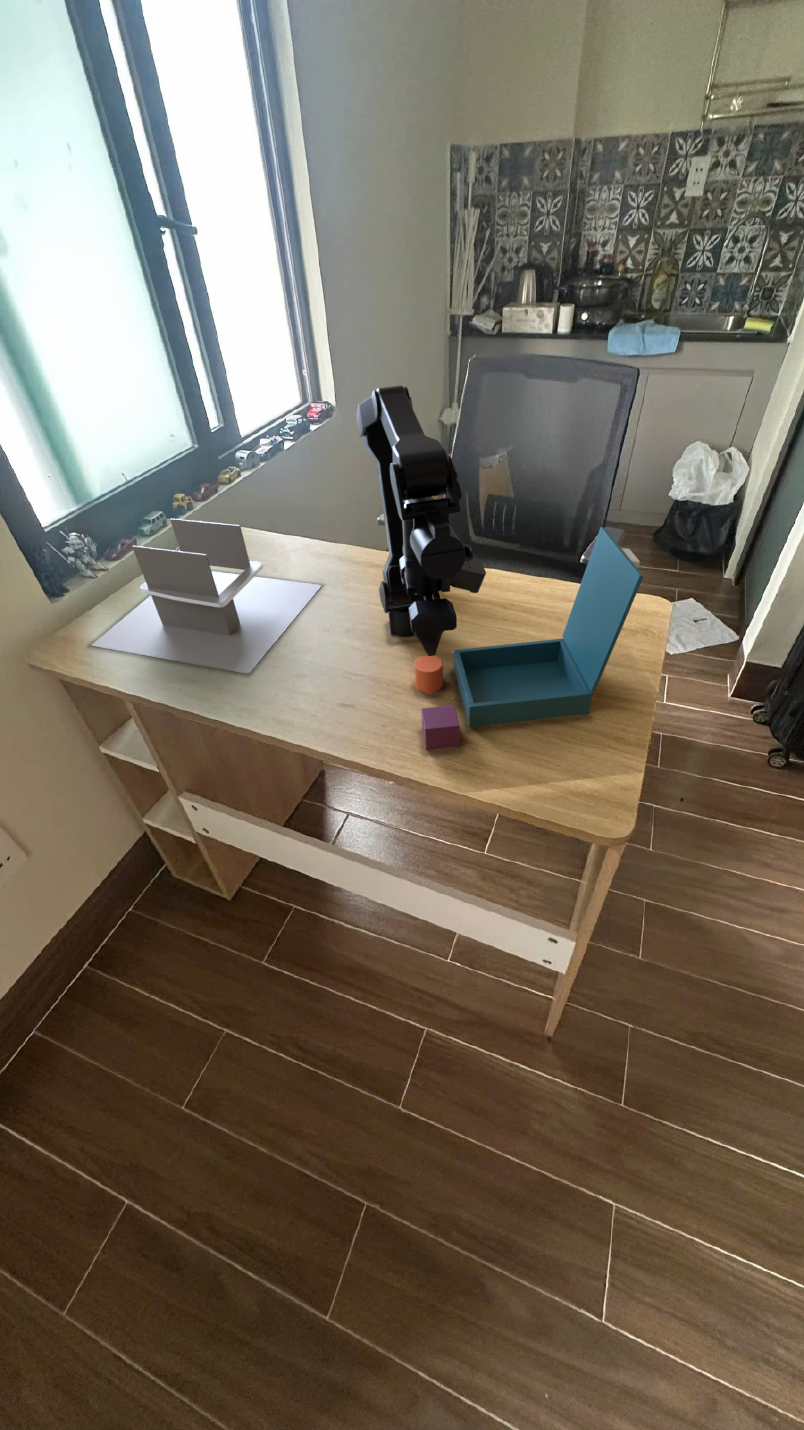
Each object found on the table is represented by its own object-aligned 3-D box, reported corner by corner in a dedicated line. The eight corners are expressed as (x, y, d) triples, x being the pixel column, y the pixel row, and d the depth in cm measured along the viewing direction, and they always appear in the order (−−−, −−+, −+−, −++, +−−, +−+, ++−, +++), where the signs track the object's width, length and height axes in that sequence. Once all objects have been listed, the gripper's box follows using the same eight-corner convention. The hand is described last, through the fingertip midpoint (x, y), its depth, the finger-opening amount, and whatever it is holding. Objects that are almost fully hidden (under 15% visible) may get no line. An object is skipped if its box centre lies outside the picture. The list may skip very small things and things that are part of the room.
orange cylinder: (417, 697, 98) (415, 673, 95) (414, 680, 101) (412, 656, 98) (444, 694, 98) (444, 670, 95) (440, 677, 102) (440, 653, 98)
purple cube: (426, 753, 88) (425, 729, 85) (422, 732, 92) (421, 708, 88) (459, 750, 89) (459, 725, 85) (454, 728, 92) (454, 704, 89)
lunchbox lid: (639, 575, 76) (658, 577, 76) (600, 526, 87) (617, 528, 87) (591, 691, 89) (607, 692, 89) (562, 636, 99) (576, 637, 100)
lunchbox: (469, 730, 92) (469, 707, 88) (453, 672, 102) (453, 649, 99) (587, 717, 92) (592, 693, 89) (560, 661, 103) (563, 638, 100)
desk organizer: (248, 673, 105) (224, 589, 94) (90, 645, 115) (50, 566, 104) (322, 585, 127) (309, 508, 116) (183, 567, 137) (159, 494, 125)
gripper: (496, 571, 76) (491, 668, 86) (469, 511, 90) (468, 601, 100) (409, 580, 75) (414, 676, 86) (396, 518, 89) (402, 608, 100)
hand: (427, 638), depth 93 cm, fingers open, 9 cm apart
